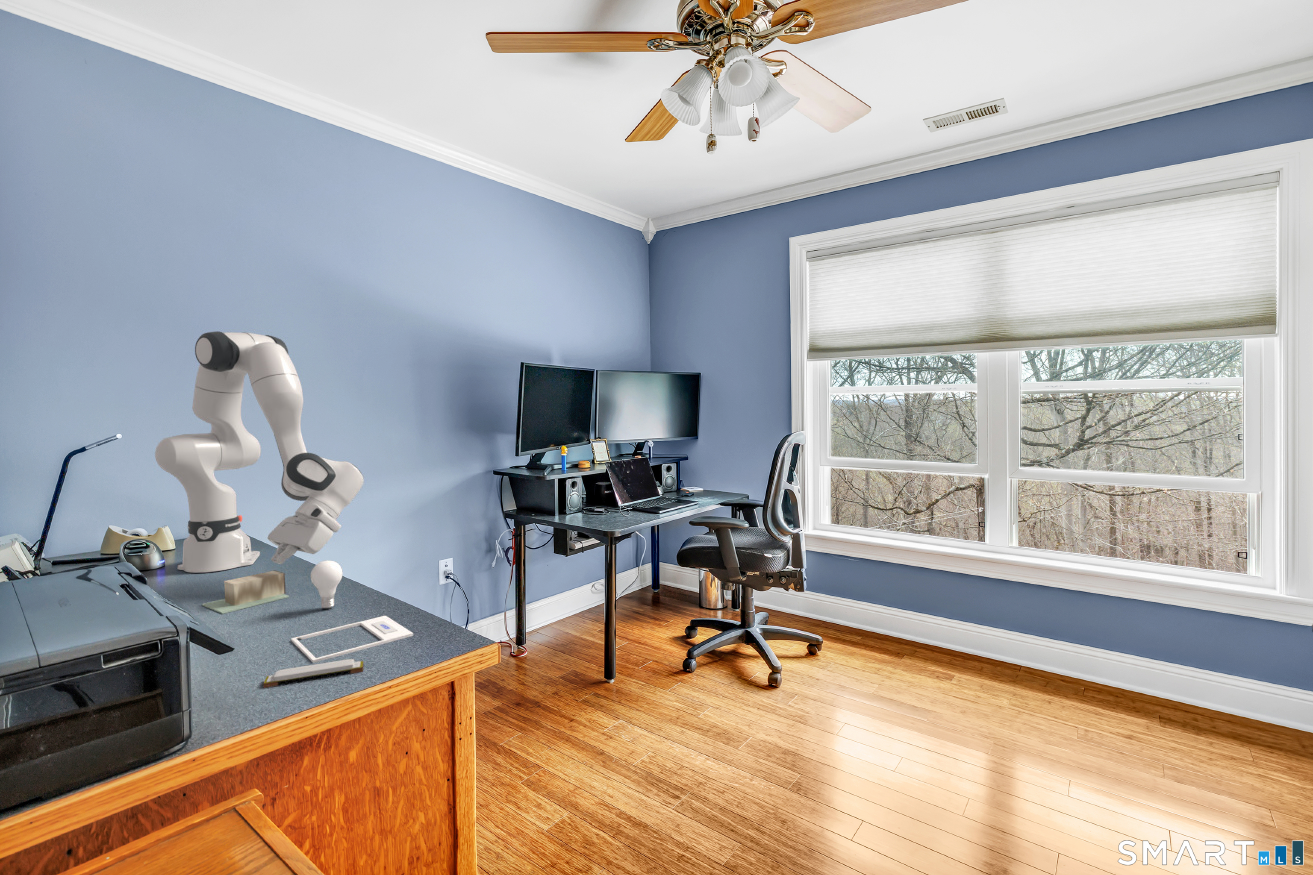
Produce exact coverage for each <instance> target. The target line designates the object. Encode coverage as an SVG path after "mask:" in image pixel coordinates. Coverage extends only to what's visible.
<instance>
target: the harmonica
mask: <svg viewBox="0 0 1313 875" xmlns="http://www.w3.org/2000/svg"><path fill="white" fill-rule="evenodd" d="M364 664H365V663H364V660H358V661H355V660H354V658H353V659H352V658H351V659H342V660H341V659H340V660H336V661H329V662H321V663H316V664H315V663H314V664H311V665H305V666H297V667H291V668H285V669H279V670H277V671H275V673H274V674H272V675H266V677H265V680H264V682H263V685H262V686H263V689H266V688H271V687H277V686H281V685H282V683H284V684H285V685H288V684H289V682H292V684H296V681H297V680H299V683H302V682H303V680H304V679H306V681H307V682H308V681H310V679H311V678H313V680H317V677H320V679H324V677H325V676H326V675H327V678H330V677H331V675H334V677H337V676H338V674H340V673H341V674H340V675H341V676H343V675H344V673H347V674H348V675H351V674H356V673H363V671H364Z"/></svg>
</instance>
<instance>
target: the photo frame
mask: <svg viewBox="0 0 1313 875" xmlns="http://www.w3.org/2000/svg"><path fill="white" fill-rule="evenodd" d="M358 626H361V627H363V628H364V629H366V630H367V631H368V632H370V633H371V634H373V635H374V636H376V637H377V638H378V639H379V641H375V642H374V641H373V642H372V643H371V642H370V643H367V644H363V645H360V646H357V647H353V648H349V649H345V650H341V651H339V652H334V653H331V654H326V655H322V656H319V657H316V656H315V655H313V653H311V652H310V650H308V648H307V647H306V646H304V645H303V643H301V642H300V641H299V640H305V639H309V638H314V637H317V636H321V635H326V634H330V633H334V632H338V631H342V630H346V629H350V628H354V627H358ZM413 636H414V633H413V632H412V631H411V630H409V629H408V628H406V627H404V626H403V625H401V624H400V623H398V622H397V621H395V620H393V619H391V618H390V617H389V616H387V615H381V616H378V617H374V618H371V619H370V618H368V619H366V620H361V621H357V622H353V623H349V624H345V625H344V624H343V625H342V626H337V627H332V628H329V629H325V630H321V631H316V632H312V633H308V634H304V635H299V636H297V637H291V638H290V640H291V643H293V644H294V646H296V647H297V649H299V651H301V652H302V654H304V656H305V657H306V658H308V660H310V662H311V663H313V664H315V663H318V662H321V661H322V662H323V661H326V660H329V659H333V658H336V657H340V656H345V655H347V654H352V653H354V652H355V653H356V652H358V651H361V650H365V649H369V648H372V647H373V648H374V647H378V646H381V645H383V644H388V643H391V642H395V641H399V640H402V639H406V638H409V637H413Z"/></svg>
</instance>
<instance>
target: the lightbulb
mask: <svg viewBox="0 0 1313 875" xmlns="http://www.w3.org/2000/svg"><path fill="white" fill-rule="evenodd" d="M342 578H343V569H342V567H341V565H340V564H339V563H338V562H336V561H333V560H322V561H320V562H317V564H315V565H314V567H313V568H312V570H311V572H310V580H311V583H312V584H313V585H314V586H315V588H316V589H317V591H318V594H319V596H320V600H321V601H320V602H321V604H320V606H321V608H322V609H326V610H329V609H332V607H334V606H335V594H336V590H337V587H338V585H339V584H340V582H341V580H342Z"/></svg>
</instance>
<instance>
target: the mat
mask: <svg viewBox="0 0 1313 875" xmlns="http://www.w3.org/2000/svg"><path fill="white" fill-rule="evenodd" d="M287 598H290V595H287V594H286V593H285V594H281V595H277V596H272V597H268V598H264V599H260V600H256V601H252V602H248V603H244V604H240V605H236V606H234V605H231V604H229V603H226V602H225V598H222V599H218V600H214V601H208V602H205V603H202V604H201V606H203V607H205V608H207V609H209V610H212V611H215V612H217V613H219V614H227V613H231V612H235V611H236V612H237V611H240V610H243V609H247V608H252V607H256V606H260V605H263V604H267V603H271V602H276V601H279V600H283V599H287Z"/></svg>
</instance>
